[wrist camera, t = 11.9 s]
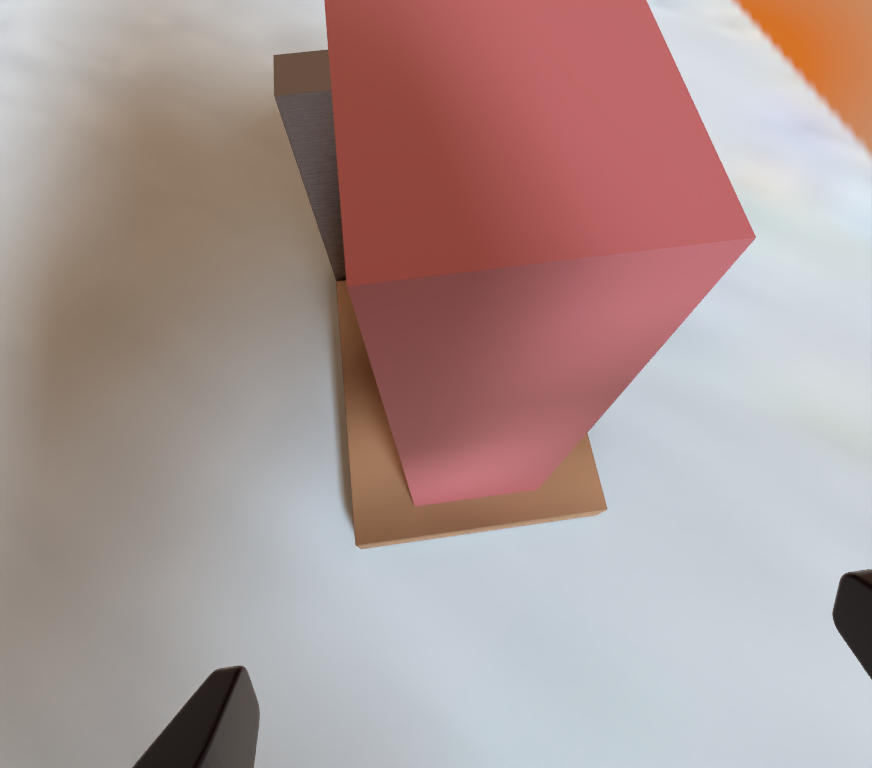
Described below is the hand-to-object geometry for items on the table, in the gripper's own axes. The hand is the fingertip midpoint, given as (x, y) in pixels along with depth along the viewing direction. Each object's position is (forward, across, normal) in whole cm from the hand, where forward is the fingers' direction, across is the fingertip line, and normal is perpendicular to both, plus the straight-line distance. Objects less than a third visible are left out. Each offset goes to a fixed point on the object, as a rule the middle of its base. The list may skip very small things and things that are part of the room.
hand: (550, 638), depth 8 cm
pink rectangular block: (+10, 0, +1) cm, 10 cm away
